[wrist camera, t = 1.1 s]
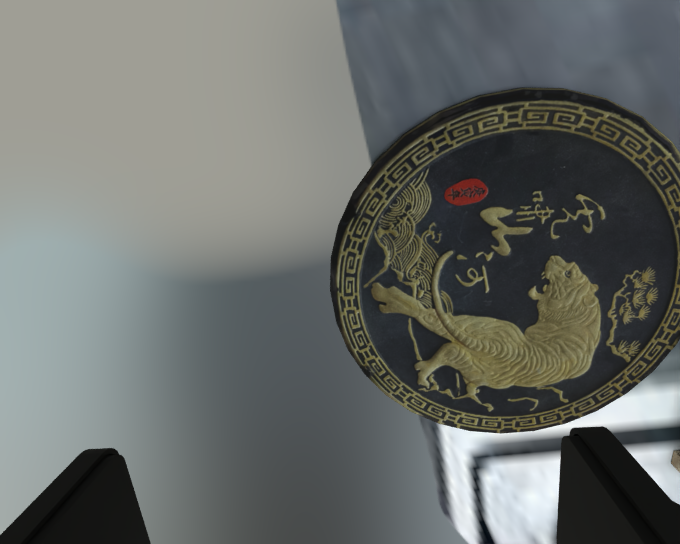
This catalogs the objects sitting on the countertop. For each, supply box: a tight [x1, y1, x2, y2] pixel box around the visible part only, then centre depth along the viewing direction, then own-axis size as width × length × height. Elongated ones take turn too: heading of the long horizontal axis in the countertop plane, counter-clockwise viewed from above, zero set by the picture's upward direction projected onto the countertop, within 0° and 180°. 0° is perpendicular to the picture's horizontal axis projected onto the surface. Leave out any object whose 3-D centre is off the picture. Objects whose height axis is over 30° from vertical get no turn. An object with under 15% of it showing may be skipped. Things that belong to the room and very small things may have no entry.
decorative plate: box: [330, 88, 680, 433], centre depth 33 cm, size 30×2×30 cm
